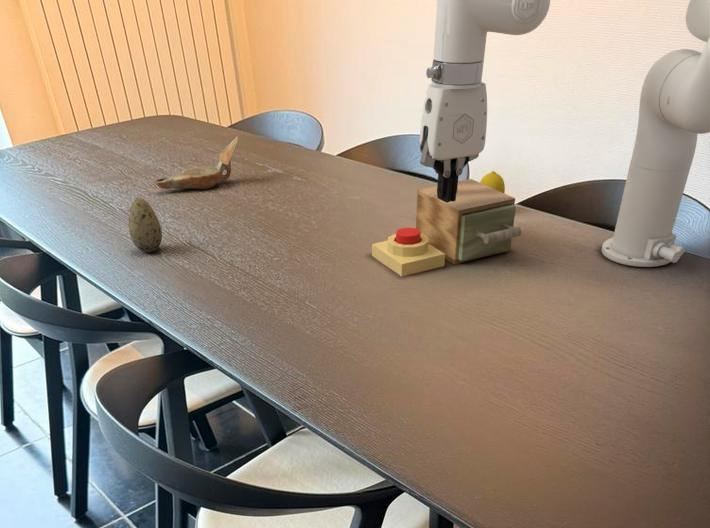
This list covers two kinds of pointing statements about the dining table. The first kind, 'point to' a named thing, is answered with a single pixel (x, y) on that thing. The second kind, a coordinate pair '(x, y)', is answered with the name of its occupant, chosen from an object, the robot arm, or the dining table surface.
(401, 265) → the button box
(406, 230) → the red button
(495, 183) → the lemon
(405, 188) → the dining table surface
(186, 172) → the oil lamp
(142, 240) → the decorative egg
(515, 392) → the dining table surface
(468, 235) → the drawer
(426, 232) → the cabinet
